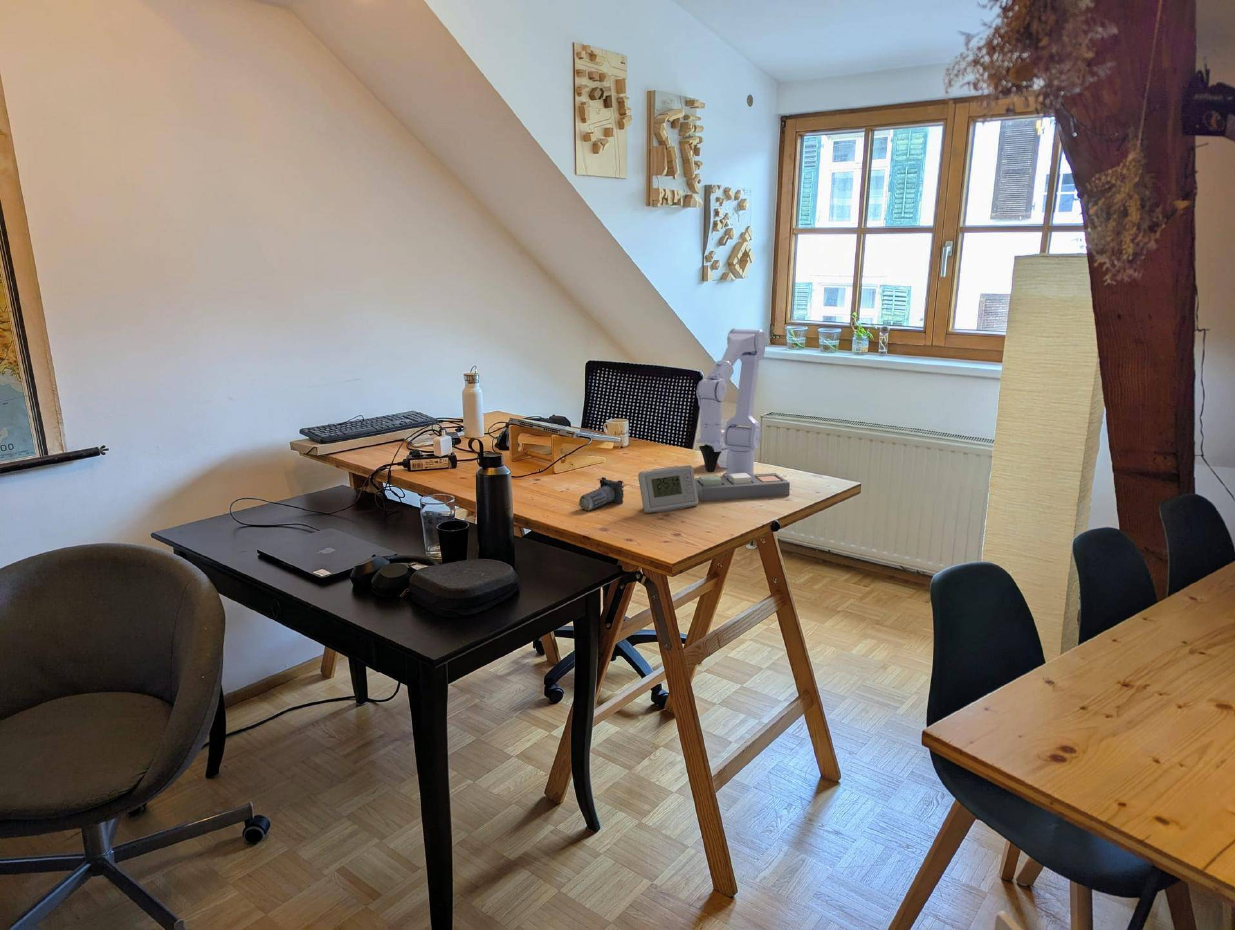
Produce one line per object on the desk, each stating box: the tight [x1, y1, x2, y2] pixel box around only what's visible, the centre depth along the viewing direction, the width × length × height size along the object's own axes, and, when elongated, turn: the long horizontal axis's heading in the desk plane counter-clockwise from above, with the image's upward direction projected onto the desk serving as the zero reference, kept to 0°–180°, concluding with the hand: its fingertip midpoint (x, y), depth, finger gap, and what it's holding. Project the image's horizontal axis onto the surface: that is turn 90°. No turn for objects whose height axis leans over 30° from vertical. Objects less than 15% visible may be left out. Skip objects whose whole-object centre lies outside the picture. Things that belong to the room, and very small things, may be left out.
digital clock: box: [637, 464, 699, 514], centre depth 208 cm, size 16×9×11 cm, turn 102°
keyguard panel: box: [694, 472, 791, 502], centre depth 221 cm, size 11×25×4 cm, turn 100°
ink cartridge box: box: [716, 419, 729, 468], centre depth 250 cm, size 9×5×15 cm, turn 84°
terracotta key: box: [757, 476, 781, 482], centre depth 223 cm, size 5×5×2 cm
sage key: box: [698, 474, 722, 486], centre depth 219 cm, size 5×5×2 cm
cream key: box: [728, 473, 751, 484], centre depth 221 cm, size 5×5×2 cm
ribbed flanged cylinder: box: [578, 476, 625, 511], centre depth 211 cm, size 9×8×12 cm
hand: (710, 471), depth 219 cm, fingers closed
